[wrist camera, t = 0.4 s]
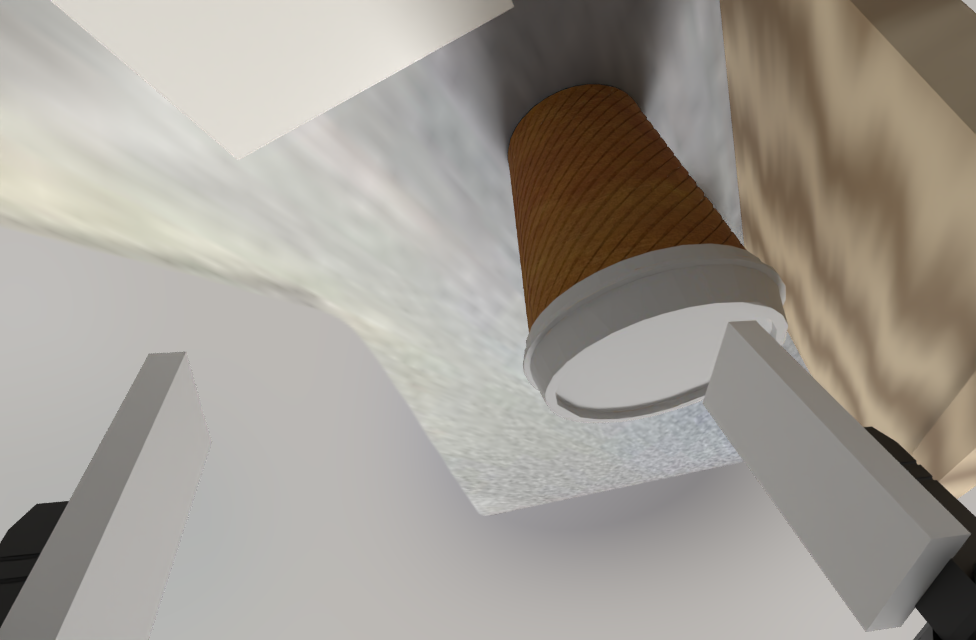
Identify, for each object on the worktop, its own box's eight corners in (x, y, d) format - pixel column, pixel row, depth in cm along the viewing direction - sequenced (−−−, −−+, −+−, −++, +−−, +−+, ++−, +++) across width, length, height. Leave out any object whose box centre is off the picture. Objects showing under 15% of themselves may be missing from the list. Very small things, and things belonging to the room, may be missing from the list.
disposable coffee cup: (718, 106, 27) (853, 326, 20) (577, 234, 33) (648, 436, 26) (568, 1, 21) (690, 259, 15) (432, 179, 27) (477, 417, 21)
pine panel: (694, -162, 18) (1129, 308, 9) (762, -202, 17) (1303, 254, 8) (741, 255, 37) (886, 528, 28) (773, 243, 37) (931, 517, 28)
